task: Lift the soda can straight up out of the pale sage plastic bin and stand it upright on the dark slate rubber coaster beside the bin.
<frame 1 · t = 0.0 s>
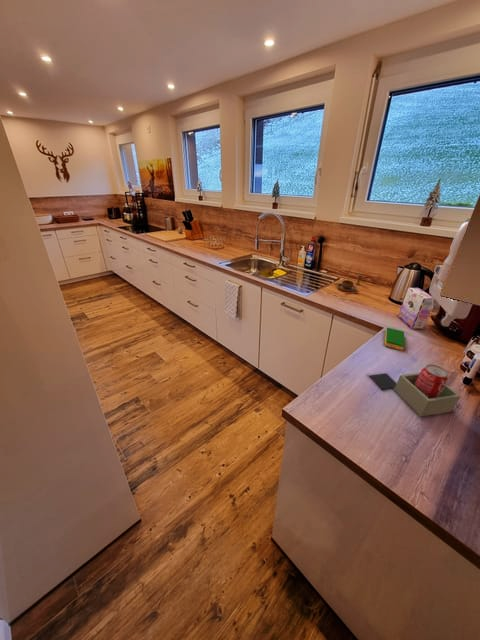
hand: (438, 317, 82), 26 cm above the worktop, tool pointing down, fingers open, 8 cm apart
bin: (421, 400, 86), on the worktop
place setting: (351, 288, 172), on the worktop
coaster: (384, 381, 93), on the worktop
dish sponge: (393, 341, 118), on the worktop
soda can: (422, 399, 86), resting in bin
candy box: (409, 322, 133), on the worktop
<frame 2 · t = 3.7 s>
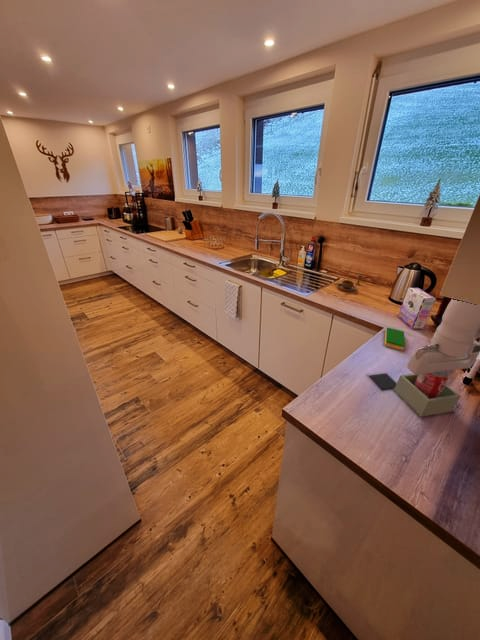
hand: (431, 379, 82), 9 cm above the worktop, tool pointing down, fingers closed on soda can, 7 cm apart
soda can: (422, 399, 86), resting in bin, touching gripper
everything else where it was.
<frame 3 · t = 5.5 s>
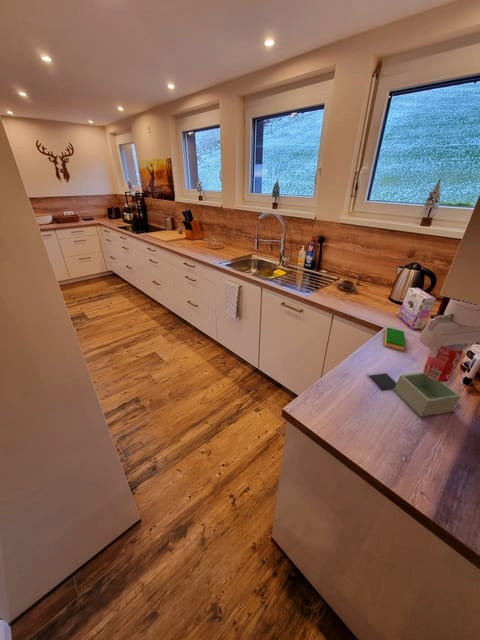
hand: (445, 354, 77), 18 cm above the worktop, tool pointing down, fingers closed on soda can, 7 cm apart
soda can: (434, 376, 81), point 10 cm above the worktop, touching gripper
everything else where it was.
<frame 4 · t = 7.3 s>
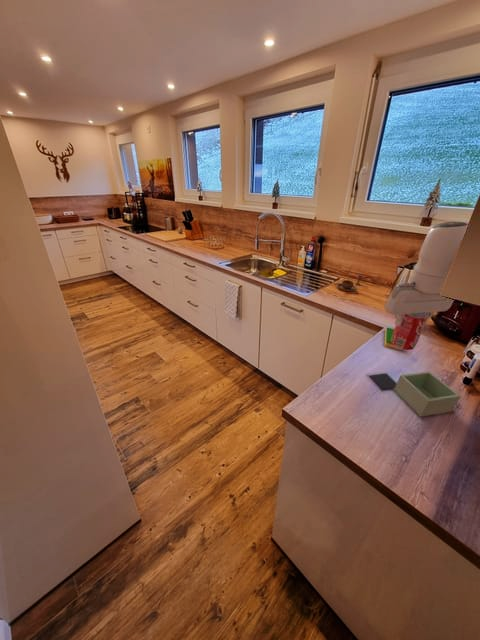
hand: (410, 324, 81), 24 cm above the worktop, tool pointing down, fingers closed on soda can, 7 cm apart
soda can: (401, 346, 85), point 16 cm above the worktop, touching gripper
everything else where it was.
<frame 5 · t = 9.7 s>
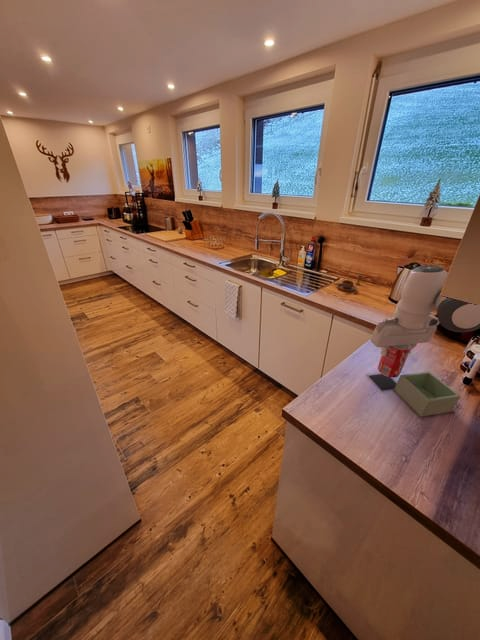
hand: (395, 353, 88), 12 cm above the worktop, tool pointing down, fingers closed on soda can, 7 cm apart
soda can: (387, 373, 92), point 4 cm above the worktop, touching gripper
everything else where it was.
when the fingers open (8 cm above the worktop, at t = 11.3 s): soda can stays where it is, resting on coaster.
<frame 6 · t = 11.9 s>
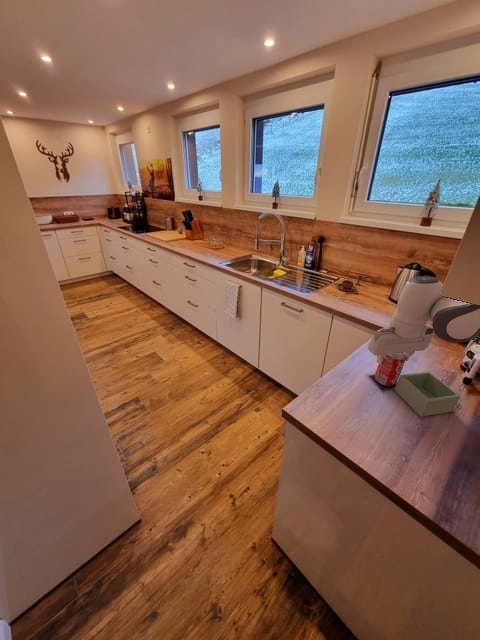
hand: (392, 361, 89), 9 cm above the worktop, tool pointing down, fingers open, 8 cm apart
soda can: (384, 381, 93), resting on coaster
everything else where it was.
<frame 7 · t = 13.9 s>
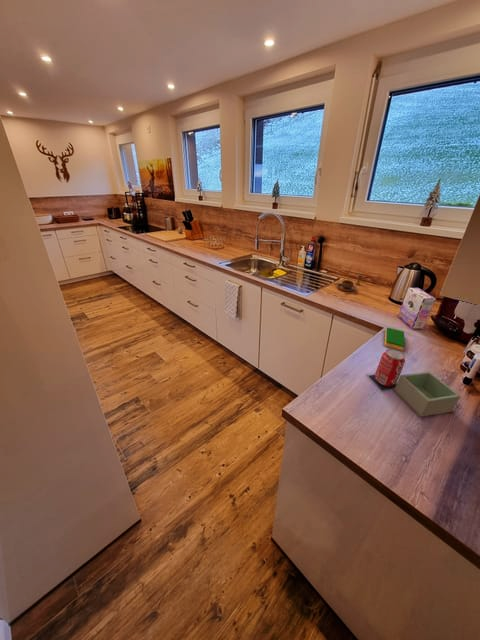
nothing on the worktop moved.
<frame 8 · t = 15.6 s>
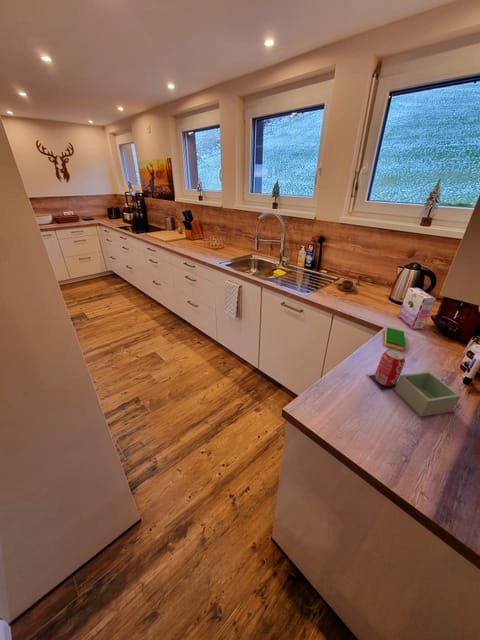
nothing on the worktop moved.
at the end: soda can inside the target area on the coaster (0.1 cm from its centre), point 0.2 cm above the coaster's base; soda can tilted 0°; the gripper is holding nothing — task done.
